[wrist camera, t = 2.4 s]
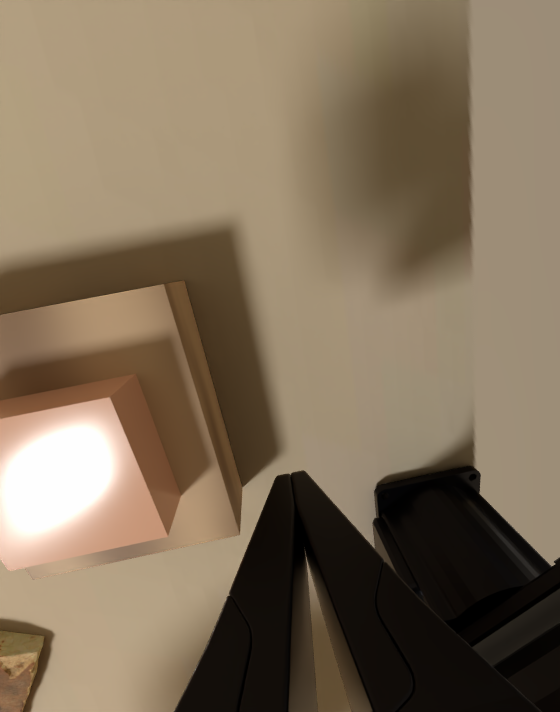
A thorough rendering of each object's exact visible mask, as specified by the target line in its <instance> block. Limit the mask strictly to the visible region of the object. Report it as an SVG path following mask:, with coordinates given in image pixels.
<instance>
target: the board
mask: <svg viewBox="0 0 560 712" xmlns="http://www.w3.org/2000/svg"><path fill="white" fill-rule="evenodd" d="M132 374H136V376H137V378H138V381H139V384H140V386H141V389H142V392H143V394H144V397H145V400H146V403H147V405H148V408H149V411H150V413H151V416H152V419H153V421H154V424H155V427H156V429H157V432H158V435H159V437H160V440H161V443H162V445H163V448H164V451H165V453H166V456H167V459H168V462H169V464H170V467H171V470H172V472H173V475H174V478H175V480H176V483H177V486H178V488H179V491H180V494H181V498H180V501H179V504H178V507H177V510H176V514H175V517H174V520H173V523H172V526H171V529H170V532H169V535H168V537H165V538H160V539H156V540H151V541H146V542H142V543H137V544H132V545H128V546H123V547H119V548H114V549H109V550H105V551H100V552H95V553H91V554H86V555H82V556H77V557H72V558H68V559H63V560H58V561H54V562H49V563H44V564H40V565H35V566H31V567H26V568H25V570H26V571H27V572H28V574H29V575H30V577H31V578H32V580H35V579H39V578H44V577H48V576H53V575H58V574H62V573H67V572H71V571H76V570H81V569H85V568H90V567H94V566H99V565H104V564H108V563H113V562H117V561H122V560H127V559H131V558H136V557H140V556H145V555H150V554H154V553H159V552H163V551H168V550H173V549H177V548H182V547H186V546H191V545H196V544H200V543H205V542H209V541H214V540H219V539H223V538H228V537H232V536H237V535H240V523H241V505H242V485H241V481H240V478H239V474H238V471H237V467H236V464H235V460H234V456H233V453H232V449H231V446H230V442H229V438H228V435H227V431H226V428H225V424H224V421H223V417H222V413H221V410H220V406H219V403H218V399H217V396H216V392H215V388H214V385H213V381H212V378H211V374H210V371H209V367H208V363H207V360H206V356H205V353H204V349H203V346H202V342H201V338H200V335H199V331H198V328H197V324H196V321H195V317H194V313H193V310H192V306H191V303H190V299H189V296H188V292H187V288H186V285H185V281H184V280H183V281H178V282H172V283H167V284H161V285H156V286H151V287H145V288H140V289H135V290H129V291H124V292H119V293H114V294H108V295H103V296H98V297H92V298H87V299H82V300H76V301H71V302H66V303H61V304H55V305H50V306H45V307H39V308H34V309H29V310H23V311H18V312H13V313H8V314H2V315H0V401H1V400H6V399H11V398H16V397H21V396H26V395H31V394H36V393H41V392H46V391H51V390H56V389H61V388H66V387H72V386H77V385H82V384H87V383H92V382H97V381H102V380H107V379H112V378H117V377H122V376H127V375H132Z"/></svg>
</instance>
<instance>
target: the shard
mask: <svg viewBox="0 0 560 712" xmlns="http://www.w3.org/2000/svg"><path fill="white" fill-rule="evenodd" d="M43 641H44V636H40V635H30V634H23V633H16V632H8V631H0V712H23V709H24V706H25V704H26V701H27V697H28V695H29V693H30V689H31V685H32V683H33V680H34V678H35V675H36V673H37V667H38V658H39V656H40V653H41V649H42V647H43Z"/></svg>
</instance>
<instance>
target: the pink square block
mask: <svg viewBox="0 0 560 712" xmlns="http://www.w3.org/2000/svg"><path fill="white" fill-rule="evenodd" d="M180 498H181V494H180V491H179V488H178V486H177V483H176V480H175V478H174V475H173V472H172V470H171V467H170V464H169V462H168V459H167V456H166V453H165V451H164V448H163V445H162V443H161V440H160V437H159V435H158V432H157V429H156V427H155V424H154V421H153V419H152V416H151V413H150V411H149V408H148V405H147V403H146V400H145V397H144V394H143V392H142V389H141V386H140V384H139V381H138V378H137V376H136V374H132V375H127V376H122V377H117V378H112V379H107V380H102V381H97V382H92V383H87V384H82V385H77V386H72V387H66V388H61V389H56V390H51V391H46V392H41V393H36V394H31V395H26V396H21V397H16V398H11V399H6V400H1V401H0V559H1V561H2V562H3V563H4V565H5V566H6V568H7V569H8V571H12V570H17V569H21V568H26V567H31V566H35V565H40V564H44V563H49V562H54V561H58V560H63V559H68V558H72V557H77V556H82V555H86V554H91V553H95V552H100V551H105V550H109V549H114V548H119V547H123V546H128V545H132V544H137V543H142V542H146V541H151V540H156V539H160V538H165V537H168V535H169V532H170V529H171V526H172V523H173V520H174V517H175V514H176V510H177V507H178V504H179V501H180Z"/></svg>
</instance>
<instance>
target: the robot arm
mask: <svg viewBox="0 0 560 712" xmlns="http://www.w3.org/2000/svg"><path fill="white" fill-rule="evenodd" d="M480 476H481V475H480V473H479V471H477V470H476V469H475V468H474V467H473V466H466V467H462V468H457V469H452V470H448V471H443V472H439V473H434V474H429V475H425V476H420V477H415V478H411V479H406V480H401V481H397V482H392V483H387V484H383V485H380V486H378V487H377V488H376V489H375V491H374V496H375V507H376V518H374V521H373V532H374V543H375V549H374V548H373V547H372V545H371V544H370V543H369V542H368V541H367V540H366V539H365V538H364V537H363V535H362V534H361V533H360V532H359V531H358V530H357V529H356V528H355V526H354V525H353V524H352V523H351V522H350V521H349V520H348V519H347V517H346V516H345V515H344V514H343V513H342V512H341V511H340V510H339V508H338V507H337V506H336V505H335V504H334V503H333V502H332V501H331V500H330V498H329V497H328V496H327V495H326V494H325V493H324V492H323V491H322V489H321V488H320V487H319V486H318V485H317V484H316V483H315V482H314V480H313V479H312V478H311V477H310V476H309V475H308V474H307V473H306V472H305V471H303V470H302V471H297V472H293V473H291V475H290V474H283V475H278V476H277V477H276V478H275V480H274V483H273V485H272V488H271V490H270V493H269V495H268V498H267V500H266V503H265V505H264V508H263V510H262V512H261V515H260V517H259V520H258V522H257V525H256V527H255V530H254V532H253V535H252V537H251V540H250V542H249V545H248V547H247V550H246V552H245V554H244V557H243V559H242V562H241V564H240V567H239V569H238V572H237V574H236V577H235V579H234V582H233V584H232V587H231V589H230V591H229V595H230V596H228V597H227V598H226V601H225V603H224V606H223V608H222V611H221V613H220V616H219V618H218V620H217V623H216V625H215V627H214V630H213V632H212V634H211V637H210V639H209V641H208V644H207V646H206V648H205V650H204V652H203V654H202V656H201V658H200V660H199V662H198V664H197V666H196V668H195V670H194V673H193V675H192V677H191V679H190V681H189V683H188V685H187V687H186V689H185V691H184V693H183V695H182V696H181V698H180V700H179V702H178V704H177V706H176V708H175V710H174V712H318V708H317V694H316V681H315V667H314V654H313V640H312V626H311V613H310V599H309V586H308V572H307V562H306V557H307V561H308V565H309V569H310V572H311V576H312V579H313V582H314V586H315V589H316V593H317V596H318V599H319V603H320V606H321V609H322V613H323V616H324V620H325V623H326V626H327V630H328V633H329V636H330V640H331V643H332V647H333V650H334V653H335V657H336V660H337V663H338V667H339V670H340V674H341V677H342V680H343V684H344V687H345V690H346V694H347V697H348V701H349V704H350V707H351V711H352V712H560V558H558V559H557V560H555V561H554V563H555V565H554V566H551V565H550V564H549V563H548V562H547V561H546V560H545V559H544V558H543V557H542V556H540V554H539V553H538V552H537V551H536V550H535V549H534V548H533V547H532V546H531V545H530V544H529V543H528V542H527V541H526V540H525V539H524V538H523V537H522V536H521V535H520V534H519V533H518V532H517V531H516V530H515V529H514V528H513V527H512V526H511V525H510V524H509V523H508V522H507V521H506V520H505V519H504V518H503V517H502V516H501V515H500V514H499V513H498V512H497V511H496V510H495V509H494V508H493V507H492V506H491V505H490V504H489V503H488V502H487V501H486V500H485V499H484V498H483V497H482V496H481V495H480V494H479V491H480ZM383 493H384V494H383ZM304 547H305V548H304ZM305 552H306V554H305Z"/></svg>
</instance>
